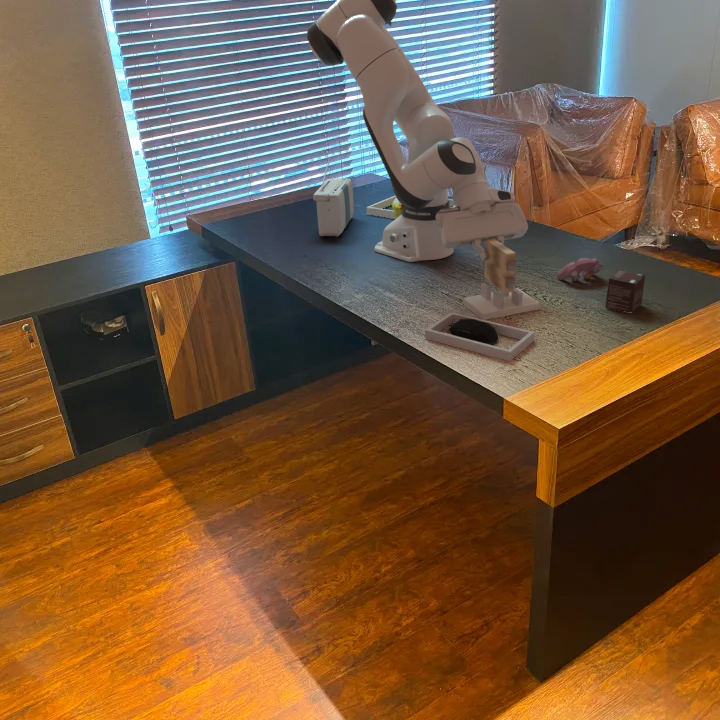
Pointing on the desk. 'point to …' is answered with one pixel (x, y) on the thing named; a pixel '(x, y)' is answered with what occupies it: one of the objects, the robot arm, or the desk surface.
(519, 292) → the white slotted stand
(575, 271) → the video game controller
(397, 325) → the desk surface
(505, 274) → the tan upright panel
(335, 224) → the stereo radio cassette player
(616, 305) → the box
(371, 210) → the white rectangular tray
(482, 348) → the mouse tray
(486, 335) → the gaming mouse
